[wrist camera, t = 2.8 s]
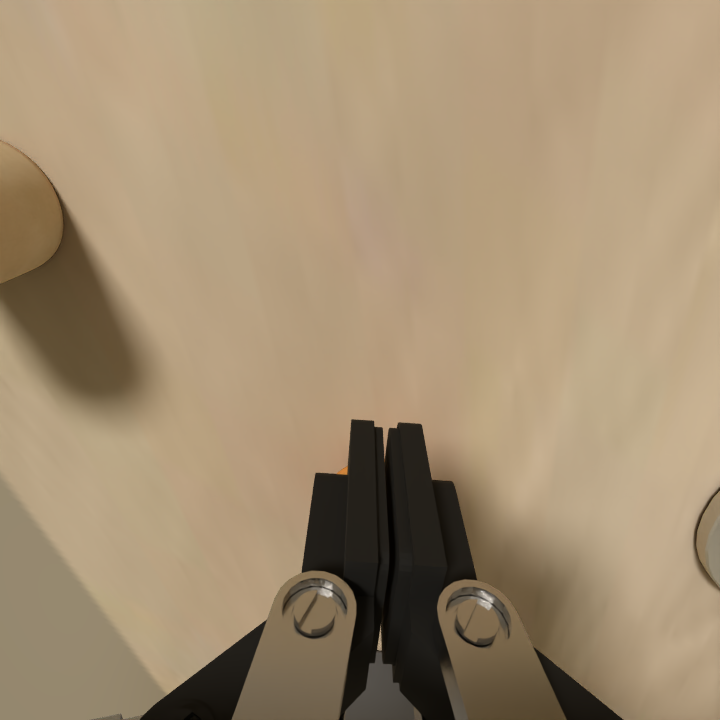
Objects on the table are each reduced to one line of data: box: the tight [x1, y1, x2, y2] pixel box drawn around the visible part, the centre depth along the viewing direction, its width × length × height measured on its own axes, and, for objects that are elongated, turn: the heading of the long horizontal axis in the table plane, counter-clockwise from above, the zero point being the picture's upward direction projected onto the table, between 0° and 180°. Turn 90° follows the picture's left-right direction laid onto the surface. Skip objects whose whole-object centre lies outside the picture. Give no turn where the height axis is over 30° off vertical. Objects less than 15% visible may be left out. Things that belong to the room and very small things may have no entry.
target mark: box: [345, 651, 415, 720], centre depth 35 cm, size 14×14×1 cm
